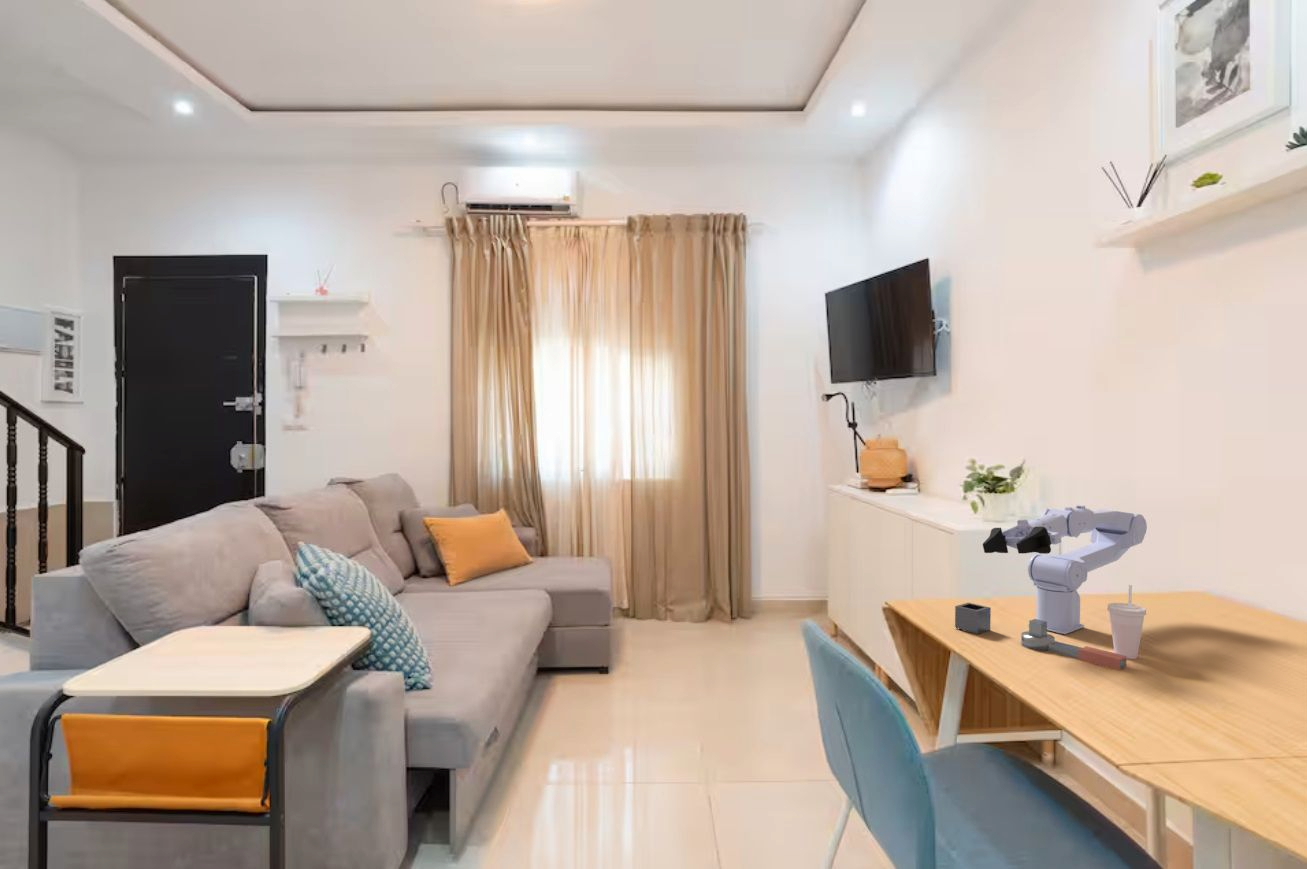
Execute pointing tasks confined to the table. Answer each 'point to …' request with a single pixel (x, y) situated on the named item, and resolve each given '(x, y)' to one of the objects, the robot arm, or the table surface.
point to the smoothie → (1126, 626)
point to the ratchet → (1068, 647)
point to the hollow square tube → (972, 617)
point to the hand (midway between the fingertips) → (1001, 548)
